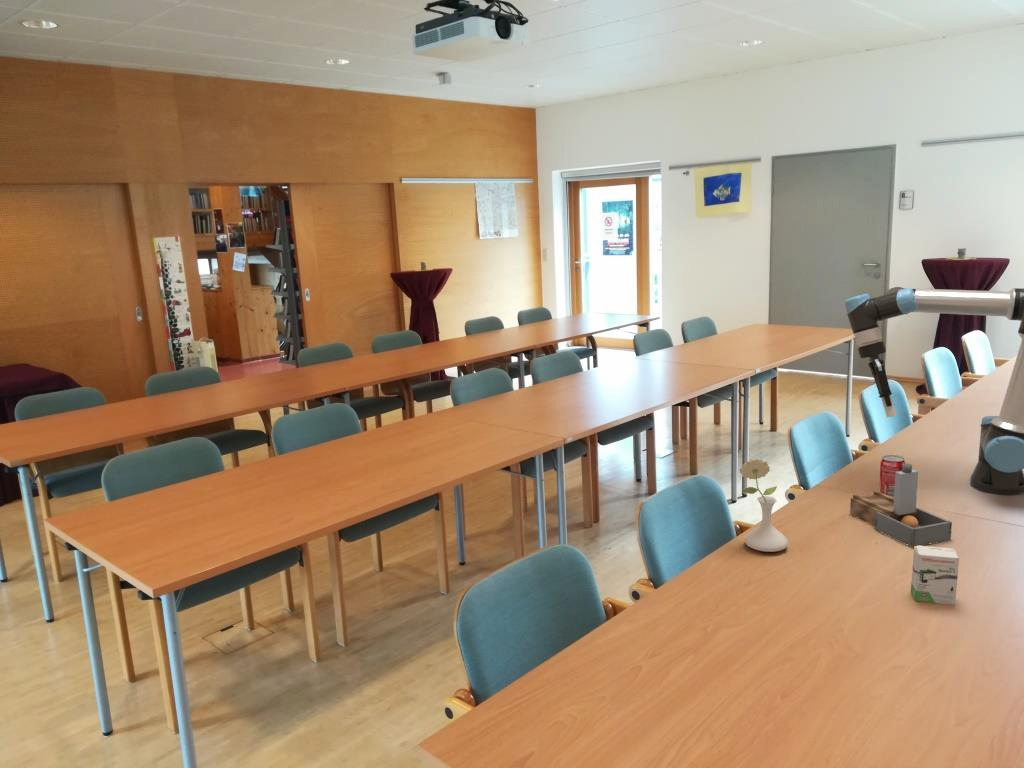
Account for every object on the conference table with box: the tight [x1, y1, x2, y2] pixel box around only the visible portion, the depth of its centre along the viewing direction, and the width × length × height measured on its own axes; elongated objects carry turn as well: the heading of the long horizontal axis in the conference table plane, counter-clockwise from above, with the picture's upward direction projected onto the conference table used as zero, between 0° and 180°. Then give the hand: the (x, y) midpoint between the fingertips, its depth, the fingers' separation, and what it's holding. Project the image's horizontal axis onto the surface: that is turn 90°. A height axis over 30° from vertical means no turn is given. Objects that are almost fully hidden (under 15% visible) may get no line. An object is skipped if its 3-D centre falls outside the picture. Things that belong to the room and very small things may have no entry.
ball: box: [901, 515, 918, 528], centre depth 211 cm, size 4×4×4 cm
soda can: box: [878, 454, 906, 498], centre depth 237 cm, size 7×7×13 cm
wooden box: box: [849, 490, 918, 527], centre depth 220 cm, size 15×10×6 cm, turn 16°
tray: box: [874, 506, 953, 548], centre depth 210 cm, size 14×13×5 cm
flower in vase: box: [738, 458, 789, 553], centre depth 205 cm, size 13×11×25 cm
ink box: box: [910, 545, 960, 606], centre depth 175 cm, size 9×5×12 cm, turn 72°
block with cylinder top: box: [893, 462, 919, 515], centre depth 211 cm, size 2×6×14 cm, turn 106°
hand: (891, 416), depth 236 cm, fingers closed
